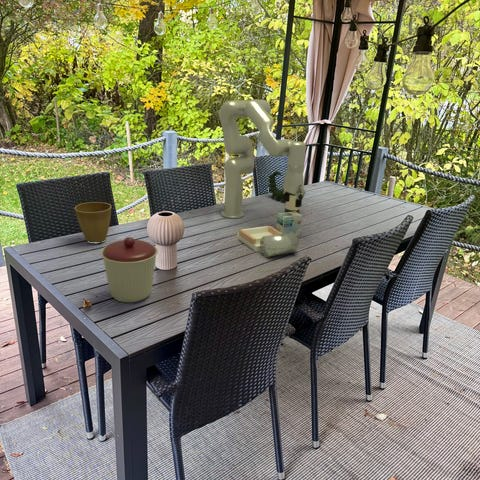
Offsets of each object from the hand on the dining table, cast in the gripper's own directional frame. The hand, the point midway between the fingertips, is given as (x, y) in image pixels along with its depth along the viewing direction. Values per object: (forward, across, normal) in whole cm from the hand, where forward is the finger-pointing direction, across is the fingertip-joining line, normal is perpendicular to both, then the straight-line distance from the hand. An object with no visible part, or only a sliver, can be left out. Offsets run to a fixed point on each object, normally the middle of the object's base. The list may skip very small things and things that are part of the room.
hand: (292, 204), depth 202 cm
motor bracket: (+16, +8, -18) cm, 25 cm away
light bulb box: (+16, -1, 0) cm, 16 cm away
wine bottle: (+16, -26, +20) cm, 36 cm away
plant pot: (+15, -24, -88) cm, 92 cm away
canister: (+16, +29, -86) cm, 92 cm away
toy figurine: (+15, -50, +32) cm, 61 cm away
